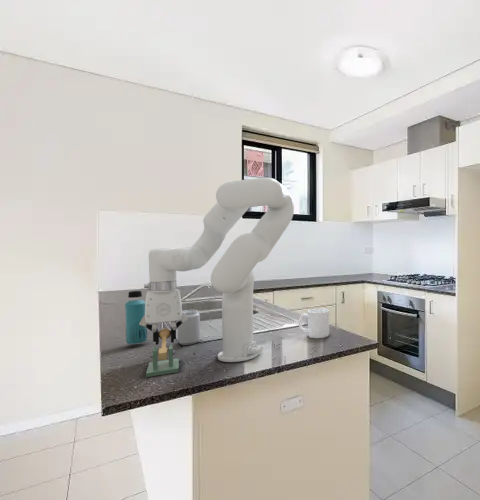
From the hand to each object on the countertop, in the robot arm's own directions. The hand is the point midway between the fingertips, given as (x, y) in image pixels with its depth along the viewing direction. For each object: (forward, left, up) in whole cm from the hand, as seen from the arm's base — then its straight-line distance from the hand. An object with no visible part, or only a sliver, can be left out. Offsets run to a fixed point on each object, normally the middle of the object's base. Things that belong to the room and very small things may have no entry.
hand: (164, 342), depth 115 cm
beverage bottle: (+22, -8, -5) cm, 24 cm away
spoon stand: (-8, +8, -5) cm, 12 cm away
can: (+6, -16, -5) cm, 18 cm away
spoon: (-3, +3, -1) cm, 5 cm away
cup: (-35, -37, -5) cm, 51 cm away
